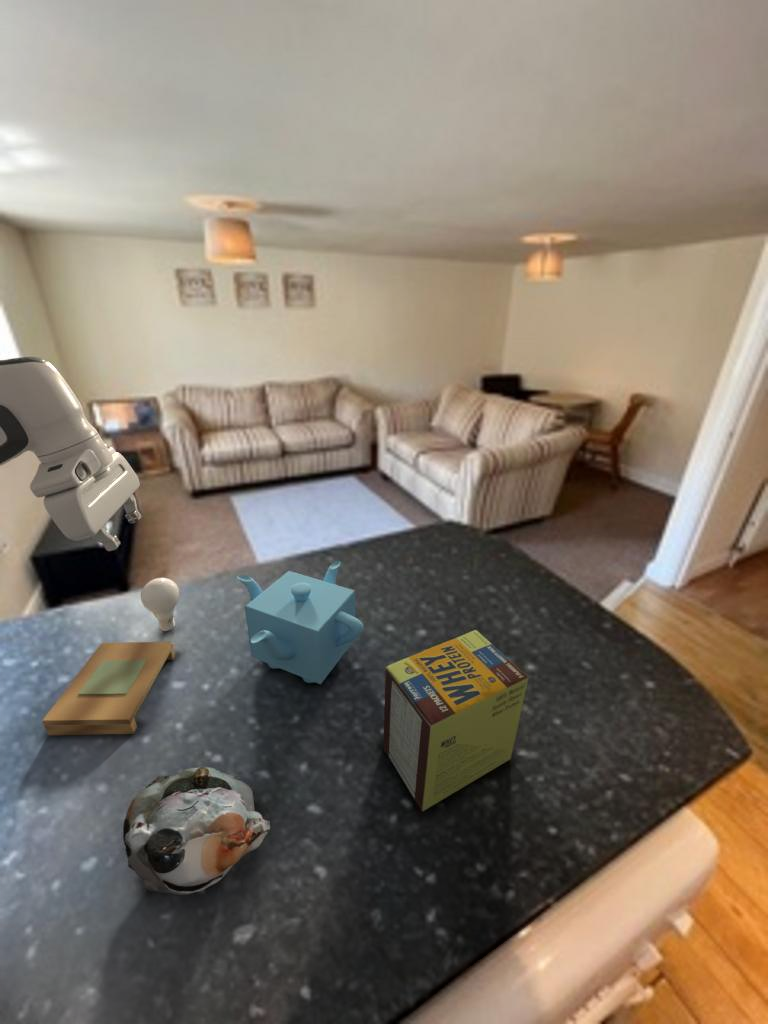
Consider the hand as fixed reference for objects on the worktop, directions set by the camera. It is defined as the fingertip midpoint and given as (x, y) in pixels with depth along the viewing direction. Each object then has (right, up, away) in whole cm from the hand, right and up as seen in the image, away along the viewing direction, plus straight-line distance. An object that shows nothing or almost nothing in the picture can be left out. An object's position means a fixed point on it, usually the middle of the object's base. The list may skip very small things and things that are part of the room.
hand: (126, 533), depth 76 cm
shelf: (+1, -25, -5) cm, 26 cm away
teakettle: (+29, -22, +4) cm, 37 cm away
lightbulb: (+3, -19, +9) cm, 21 cm away
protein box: (+53, -31, -13) cm, 62 cm away
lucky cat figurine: (+23, -35, -24) cm, 49 cm away
